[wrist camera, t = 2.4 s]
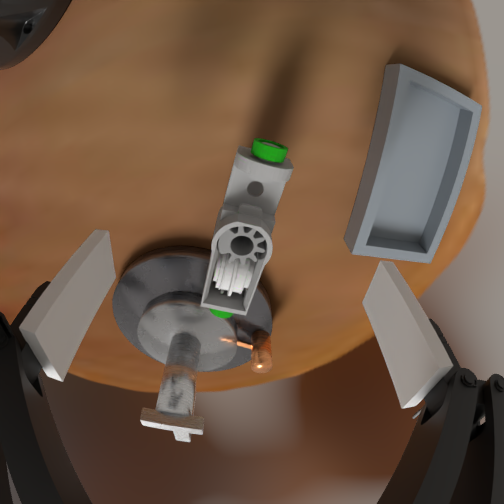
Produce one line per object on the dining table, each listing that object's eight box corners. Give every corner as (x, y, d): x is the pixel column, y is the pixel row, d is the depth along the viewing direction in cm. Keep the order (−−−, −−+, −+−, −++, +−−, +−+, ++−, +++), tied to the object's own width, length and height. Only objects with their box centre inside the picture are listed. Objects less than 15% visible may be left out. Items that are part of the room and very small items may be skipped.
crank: (136, 285, 25) (95, 386, 16) (242, 298, 26) (240, 410, 16) (153, 373, 33) (137, 449, 24) (230, 382, 34) (227, 462, 24)
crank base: (107, 237, 25) (80, 275, 20) (285, 256, 26) (293, 300, 21) (131, 348, 34) (119, 385, 29) (258, 364, 35) (259, 403, 30)
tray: (385, 64, 17) (400, 63, 14) (465, 101, 17) (482, 106, 15) (343, 239, 25) (351, 254, 23) (419, 249, 26) (430, 263, 24)
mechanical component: (281, 126, 20) (306, 158, 11) (246, 240, 25) (244, 325, 17) (243, 116, 19) (237, 139, 11) (213, 232, 25) (195, 315, 16)
